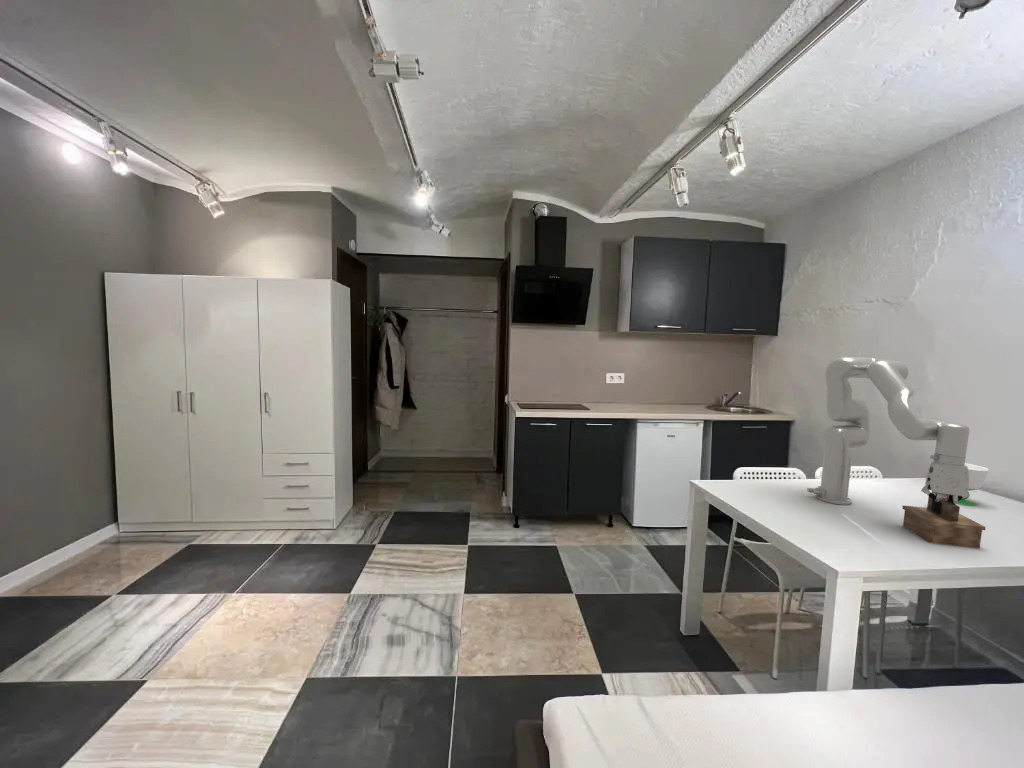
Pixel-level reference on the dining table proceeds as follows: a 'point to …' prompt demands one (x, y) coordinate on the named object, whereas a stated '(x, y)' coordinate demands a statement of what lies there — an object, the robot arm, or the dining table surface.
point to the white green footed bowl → (974, 481)
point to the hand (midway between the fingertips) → (942, 512)
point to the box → (942, 532)
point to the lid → (943, 515)
